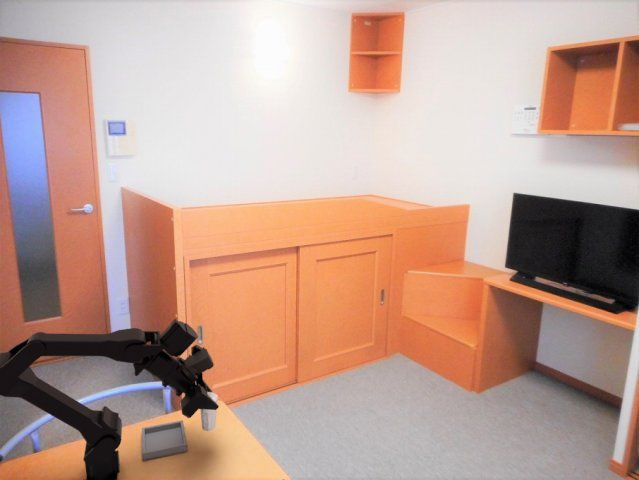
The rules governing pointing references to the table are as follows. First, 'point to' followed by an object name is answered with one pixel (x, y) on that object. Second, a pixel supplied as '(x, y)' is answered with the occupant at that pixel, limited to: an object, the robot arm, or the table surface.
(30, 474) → the table surface
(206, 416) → the milkshake
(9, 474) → the table surface
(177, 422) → the tray
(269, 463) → the table surface
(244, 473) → the table surface
